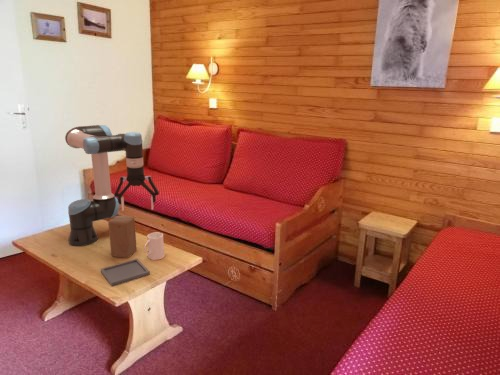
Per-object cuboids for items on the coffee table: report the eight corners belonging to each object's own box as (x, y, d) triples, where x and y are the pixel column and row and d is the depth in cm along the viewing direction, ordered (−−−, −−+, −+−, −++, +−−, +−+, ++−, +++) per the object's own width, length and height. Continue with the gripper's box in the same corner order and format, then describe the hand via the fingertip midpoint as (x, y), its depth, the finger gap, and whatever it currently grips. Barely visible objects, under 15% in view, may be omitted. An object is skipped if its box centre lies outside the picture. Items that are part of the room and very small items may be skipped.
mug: (149, 263, 188) (148, 242, 185) (139, 258, 193) (137, 237, 190) (168, 255, 197) (167, 234, 194) (157, 251, 202) (156, 230, 199)
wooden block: (128, 258, 193) (125, 222, 187) (110, 256, 195) (107, 221, 189) (137, 250, 202) (134, 216, 197) (120, 248, 204) (117, 214, 198)
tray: (100, 272, 179) (100, 268, 179) (137, 261, 190) (137, 258, 189) (111, 286, 167) (111, 282, 166) (149, 274, 178) (149, 271, 177)
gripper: (105, 168, 167) (109, 213, 173) (162, 167, 171) (164, 210, 177) (108, 164, 174) (112, 207, 180) (163, 163, 178) (164, 205, 184)
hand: (138, 209), depth 178 cm, fingers open, 13 cm apart
